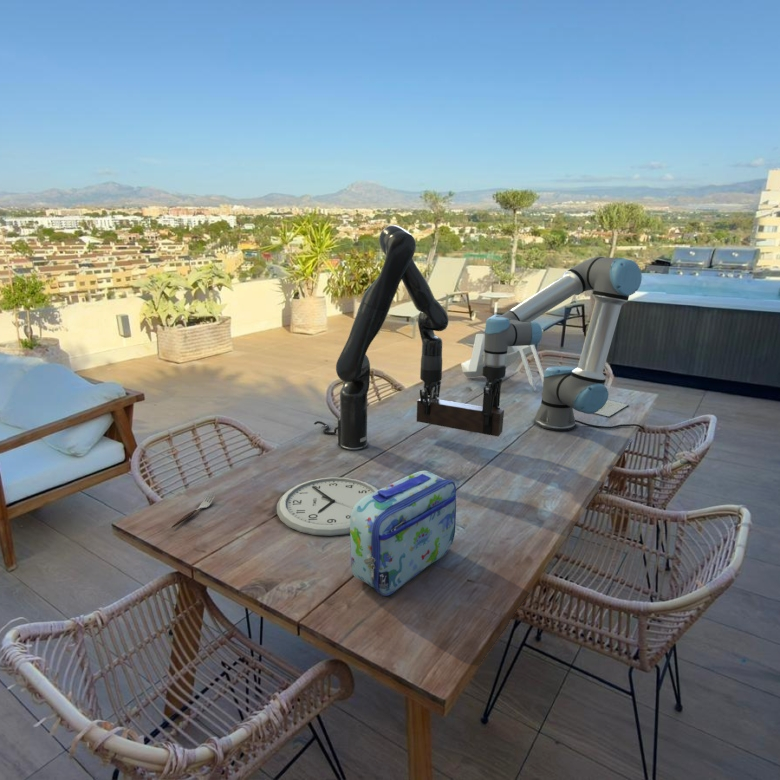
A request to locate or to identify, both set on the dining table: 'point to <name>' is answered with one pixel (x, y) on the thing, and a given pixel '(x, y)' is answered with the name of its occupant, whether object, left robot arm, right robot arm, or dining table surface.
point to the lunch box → (402, 530)
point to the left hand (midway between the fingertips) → (429, 412)
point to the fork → (203, 505)
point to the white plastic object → (513, 354)
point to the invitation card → (610, 408)
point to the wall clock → (322, 505)
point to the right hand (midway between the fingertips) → (489, 430)
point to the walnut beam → (459, 416)
